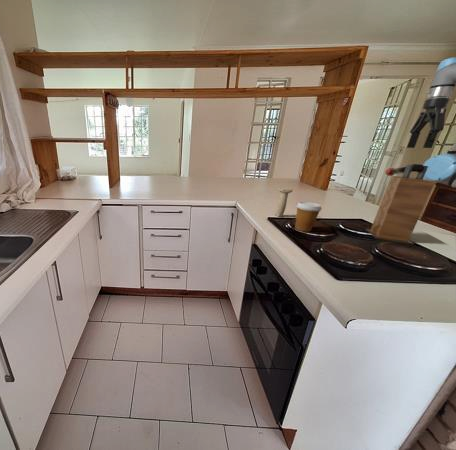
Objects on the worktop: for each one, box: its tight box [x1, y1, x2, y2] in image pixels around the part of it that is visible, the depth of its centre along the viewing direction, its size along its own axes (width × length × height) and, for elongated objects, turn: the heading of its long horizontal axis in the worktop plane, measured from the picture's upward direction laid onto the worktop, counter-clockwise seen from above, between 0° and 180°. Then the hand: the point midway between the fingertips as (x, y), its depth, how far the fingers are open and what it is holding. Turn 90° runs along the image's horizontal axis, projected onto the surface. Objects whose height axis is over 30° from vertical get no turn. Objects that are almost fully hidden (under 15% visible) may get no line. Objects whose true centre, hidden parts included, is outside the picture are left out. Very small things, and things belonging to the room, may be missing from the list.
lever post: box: [365, 164, 436, 246], centre depth 96 cm, size 12×12×31 cm
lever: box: [385, 163, 423, 177], centre depth 100 cm, size 22×4×4 cm, turn 157°
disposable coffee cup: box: [294, 201, 322, 233], centre depth 106 cm, size 10×10×12 cm
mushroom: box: [275, 187, 293, 218], centre depth 124 cm, size 5×6×15 cm
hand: (418, 147), depth 114 cm, fingers open, 13 cm apart
